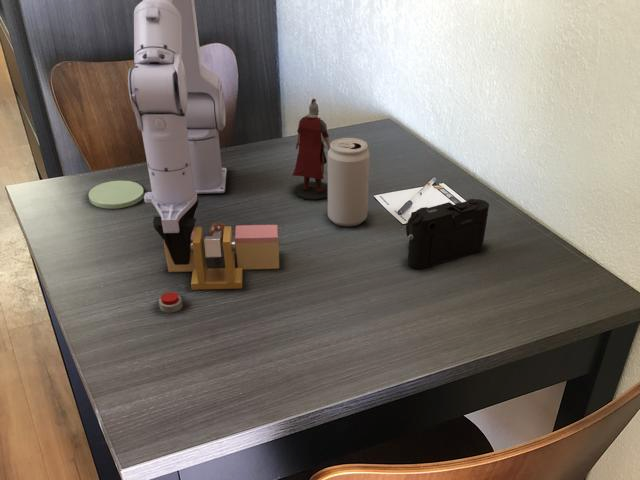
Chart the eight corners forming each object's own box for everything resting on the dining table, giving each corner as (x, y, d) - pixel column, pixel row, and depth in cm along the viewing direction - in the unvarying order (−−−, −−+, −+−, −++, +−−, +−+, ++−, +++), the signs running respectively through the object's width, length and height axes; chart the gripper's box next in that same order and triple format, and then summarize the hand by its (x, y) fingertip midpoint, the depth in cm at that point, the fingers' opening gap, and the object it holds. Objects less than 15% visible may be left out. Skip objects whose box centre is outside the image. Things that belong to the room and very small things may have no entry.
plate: (94, 185, 125) (93, 180, 125) (147, 184, 126) (146, 179, 125) (85, 209, 119) (83, 204, 118) (141, 208, 119) (140, 203, 119)
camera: (461, 230, 115) (468, 181, 110) (490, 250, 111) (499, 199, 105) (386, 252, 110) (389, 201, 104) (413, 273, 106) (418, 222, 100)
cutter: (210, 241, 111) (208, 220, 110) (230, 240, 111) (228, 220, 110) (202, 259, 99) (200, 237, 98) (224, 259, 99) (223, 236, 98)
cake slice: (171, 258, 108) (166, 227, 104) (201, 258, 108) (196, 226, 105) (168, 272, 105) (163, 240, 102) (199, 271, 105) (195, 239, 102)
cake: (238, 256, 109) (235, 225, 105) (278, 255, 109) (277, 224, 105) (238, 269, 106) (235, 238, 102) (279, 268, 106) (277, 237, 103)
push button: (167, 315, 97) (166, 305, 96) (155, 305, 99) (153, 296, 98) (186, 306, 99) (185, 297, 98) (174, 297, 100) (172, 288, 99)
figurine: (339, 187, 126) (340, 95, 116) (323, 204, 121) (323, 110, 111) (303, 180, 128) (302, 89, 117) (286, 197, 123) (283, 104, 112)
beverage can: (363, 230, 115) (366, 154, 106) (323, 226, 116) (323, 150, 107) (370, 212, 119) (373, 138, 111) (331, 208, 120) (332, 134, 112)
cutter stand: (193, 274, 105) (187, 227, 100) (242, 272, 105) (238, 225, 100) (191, 290, 102) (184, 242, 97) (242, 289, 102) (237, 241, 97)
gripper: (145, 141, 101) (160, 232, 111) (131, 187, 91) (149, 282, 100) (196, 140, 102) (207, 231, 111) (188, 185, 91) (201, 281, 101)
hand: (183, 255), depth 106 cm, fingers closed on cake slice, 4 cm apart
